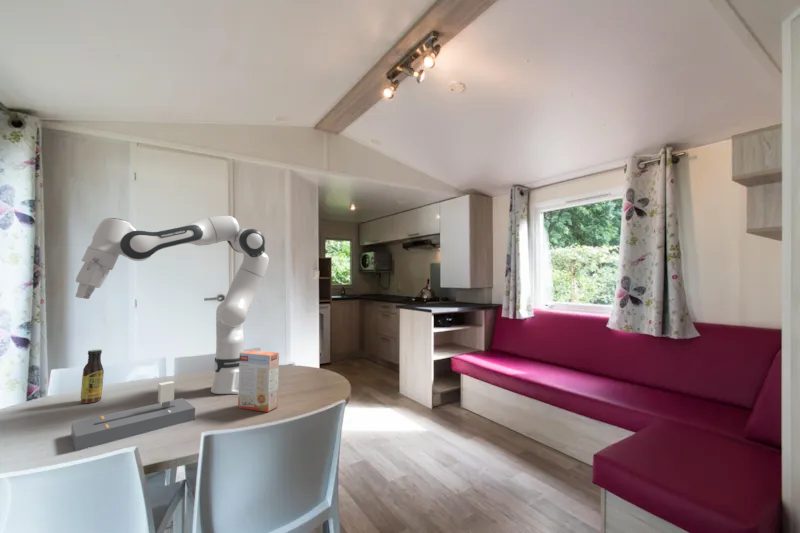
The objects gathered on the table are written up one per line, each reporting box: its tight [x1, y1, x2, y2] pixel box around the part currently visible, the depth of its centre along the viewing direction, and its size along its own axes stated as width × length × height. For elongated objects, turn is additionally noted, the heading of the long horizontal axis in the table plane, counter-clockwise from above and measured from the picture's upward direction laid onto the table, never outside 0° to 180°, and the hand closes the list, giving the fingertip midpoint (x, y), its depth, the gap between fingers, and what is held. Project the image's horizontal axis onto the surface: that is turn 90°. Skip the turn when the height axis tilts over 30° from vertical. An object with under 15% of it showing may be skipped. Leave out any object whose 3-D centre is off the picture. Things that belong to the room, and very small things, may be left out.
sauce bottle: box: [80, 349, 105, 404], centre depth 134 cm, size 6×6×20 cm
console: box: [70, 397, 196, 452], centre depth 112 cm, size 30×14×4 cm, turn 138°
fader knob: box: [157, 380, 175, 408], centre depth 118 cm, size 4×3×8 cm
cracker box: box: [237, 350, 280, 413], centre depth 130 cm, size 14×6×21 cm, turn 71°
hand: (82, 298), depth 117 cm, fingers open, 8 cm apart
